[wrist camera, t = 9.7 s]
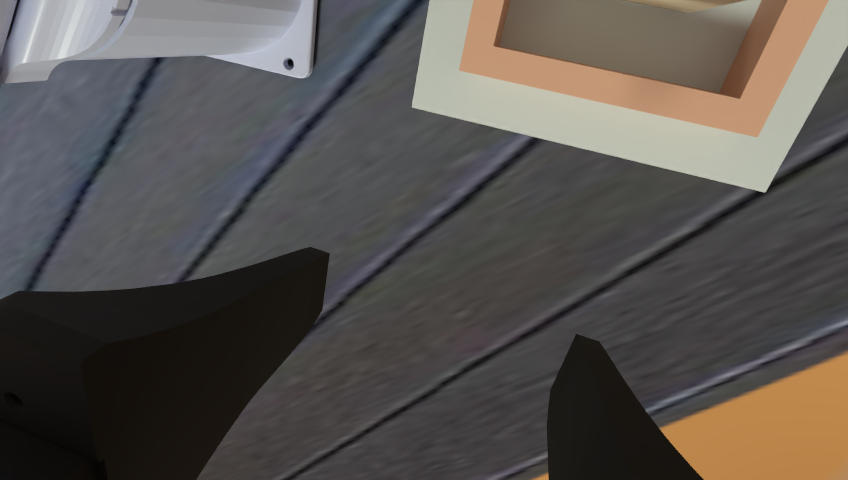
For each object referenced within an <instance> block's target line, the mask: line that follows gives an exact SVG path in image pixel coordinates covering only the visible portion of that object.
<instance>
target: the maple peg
mask: <svg viewBox="0 0 848 480" xmlns="http://www.w3.org/2000/svg"><path fill="white" fill-rule="evenodd" d="M624 1H629V2H634V3H639V4H645V5H650V6H655V7H660V8H666V9H671V10H676V11H681V12H687V13H691V12H695V11H700V10H704V9H709V8H713V7H718V6H723V5H727V4H732V3H736V2H741V1H746V0H624Z"/></svg>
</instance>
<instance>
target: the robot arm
mask: <svg viewBox="0 0 848 480" xmlns="http://www.w3.org/2000/svg"><path fill="white" fill-rule="evenodd" d="M317 2H318V0H0V87H1V84H2V83H16V82H29V81H43V80H47V79H48V77H49V75H50V73H51V71H52V70H53V69H54V68H55V67H56V66H57V65H58V64H60V63H61V62H65V61H68V60H92V59H120V58H147V57H174V56H202V55H205V56H209V57H213V58H217V59H221V60H225V61H230V62H234V63H238V64H242V65H246V66H250V67H254V68H259V69H263V70H267V71H271V72H275V73H279V74H284V75H288V76H292V77H296V78H306V77H308V76H310V74H311V73H312V70H313V59H314V44H315V30H316V16H317ZM289 59H292V60H293V62H294V67H293V69H290V67H289V66H288V60H289ZM329 254H330V253H327V252H324V251H321V250H318V249H315V248H312V247H309V248H305V249H301V250H298V251H295V252H291V253H288V254H285V255H282V256H279V257H276V258H273V259H270V260H267V261H264V262H261V263H258V264H254V265H251V266H248V267H244V268H240V269H237V270H233V271H230V272H226V273H222V274H219V275H215V276H210V277H206V278H201V279H196V280H191V281H186V282H180V283H174V284H167V285H159V286H151V287H143V288H135V289H123V290H109V291H85V292H38V291H18V292H15V293H13V294H11V295H9V296H7V297H5V298H3V299H1V300H0V480H196V479H197V477H198V476H199V474H200V473H201V471H202V469H203V468H204V466H205V465H206V463H207V462H208V460H209V459H210V457H211V456H212V454H213V453H214V451H215V450H216V448H217V447H218V445H219V444H220V442H221V441H222V439H223V438H224V436H225V435H226V434H227V432H228V431H229V429H230V428H231V426H232V425H233V424H234V422H235V421H236V419H237V418H238V416H239V415H240V414H241V412H242V411H243V409H244V408H245V407H246V405H247V404H248V403H249V401H250V400H251V399H252V398H253V396H254V395H255V394H256V393H257V391H258V390H259V389H260V388H261V387H262V386H263V384H264V383H265V382H266V381H267V380H268V379H269V378H270V377H271V375H272V374H273V373H274V372H275V371H276V370H277V369H278V367H279V366H280V365H281V364H282V363H283V362H284V361H285V359H286V358H287V357H288V356H289V355H290V354H291V352H292V351H293V350H294V349H295V348H296V347H297V346H298V344H299V343H300V342H301V341H302V340H303V338H304V337H305V336H306V334H307V333H308V331H309V330H310V328H311V327H312V325H313V324H314V322H315V321H316V319H317V318H318V316H319V314H320V313H321V311H322V307H323V300H324V292H325V285H326V277H327V270H328V262H329ZM547 442H548V473H549V480H703V479H702V477H701V476H700V475H699V474H698V473H696V471H695V470H694V469H693V468H692V467H691V466H690V464H689V463H688V462H687V461H686V460H685V459H684V458H683V457H682V455H681V454H680V453H679V452H678V451H677V450H676V449H675V447H674V446H673V445H672V444H671V443H670V442H669V440H668V439H667V438H666V437H665V436H664V434H663V433H662V432H661V430H660V429H659V428H658V427H657V425H656V424H655V423H654V421H653V420H652V419H651V417H650V416H649V415H648V413H647V412H646V411H645V409H644V408H643V407H642V405H641V404H640V402H639V401H638V400H637V398H636V397H635V395H634V394H633V392H632V391H631V389H630V388H629V386H628V385H627V383H626V382H625V380H624V379H623V377H622V376H621V374H620V373H619V371H618V370H617V368H616V366H615V365H614V363H613V362H612V360H611V359H610V357H609V356H608V354H607V352H606V351H605V349H604V348H603V346H602V345H601V344H600V342H599V341H596V340H593V339H590V338H587V337H584V336H581V335H577V334H576V336H575V338H574V340H573V342H572V344H571V347H570V349H569V351H568V353H567V355H566V357H565V360H564V362H563V364H562V366H561V368H560V370H559V373H558V375H557V377H556V379H555V381H554V383H553V386H552V388H551V391H550V399H549V408H548V419H547Z"/></svg>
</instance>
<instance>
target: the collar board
mask: <svg viewBox="0 0 848 480" xmlns="http://www.w3.org/2000/svg"><path fill="white" fill-rule="evenodd" d="M847 45H848V0H746V1H741V2H736V3H732V4H727V5H723V6H718V7H713V8H709V9H704V10H700V11H695V12H691V13H687V12H681V11H676V10H671V9H666V8H660V7H655V6H650V5H645V4H639V3H634V2H629V1H624V0H430V2H429V8H428V14H427V20H426V26H425V32H424V38H423V44H422V49H421V55H420V61H419V67H418V73H417V79H416V85H415V91H414V97H413V103H412V108H417V109H421V110H425V111H429V112H433V113H437V114H442V115H446V116H450V117H454V118H458V119H462V120H466V121H471V122H475V123H479V124H483V125H487V126H491V127H495V128H500V129H504V130H508V131H512V132H516V133H520V134H525V135H529V136H533V137H537V138H541V139H545V140H549V141H554V142H558V143H562V144H566V145H570V146H574V147H578V148H583V149H587V150H591V151H595V152H599V153H603V154H607V155H612V156H616V157H620V158H624V159H628V160H632V161H637V162H641V163H645V164H649V165H653V166H657V167H661V168H666V169H670V170H674V171H678V172H682V173H686V174H690V175H695V176H699V177H703V178H707V179H711V180H715V181H720V182H724V183H728V184H732V185H736V186H740V187H744V188H749V189H753V190H757V191H761V192H766V190H767V188H768V187H769V185H770V183H771V181H772V180H773V178H774V176H775V174H776V172H777V171H778V169H779V167H780V165H781V163H782V162H783V160H784V158H785V156H786V155H787V153H788V151H789V149H790V147H791V146H792V144H793V142H794V140H795V138H796V137H797V135H798V133H799V131H800V129H801V128H802V126H803V124H804V122H805V121H806V119H807V117H808V115H809V113H810V112H811V110H812V108H813V106H814V104H815V103H816V101H817V99H818V97H819V95H820V94H821V92H822V90H823V88H824V87H825V85H826V83H827V81H828V79H829V78H830V76H831V74H832V72H833V70H834V69H835V67H836V65H837V63H838V61H839V60H840V58H841V56H842V54H843V53H844V51H845V49H846V47H847Z"/></svg>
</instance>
